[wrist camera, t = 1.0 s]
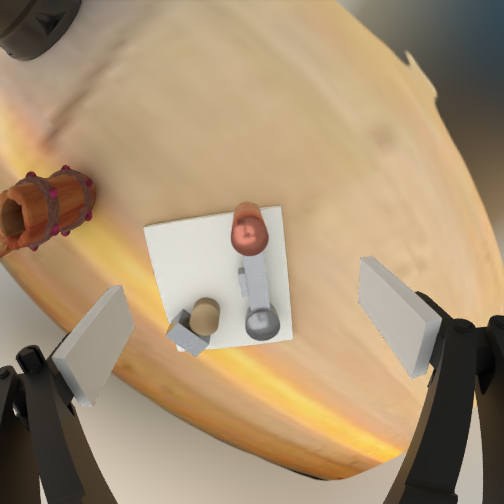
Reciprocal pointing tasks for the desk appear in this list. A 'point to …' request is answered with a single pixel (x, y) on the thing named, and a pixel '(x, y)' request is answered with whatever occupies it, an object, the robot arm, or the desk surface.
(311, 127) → the desk surface
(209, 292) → the bench board
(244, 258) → the lever
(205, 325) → the tan short cylinder
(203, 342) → the grey rectangular block
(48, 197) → the mug
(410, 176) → the desk surface
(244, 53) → the desk surface
